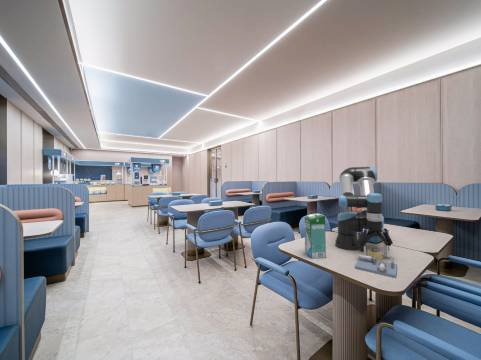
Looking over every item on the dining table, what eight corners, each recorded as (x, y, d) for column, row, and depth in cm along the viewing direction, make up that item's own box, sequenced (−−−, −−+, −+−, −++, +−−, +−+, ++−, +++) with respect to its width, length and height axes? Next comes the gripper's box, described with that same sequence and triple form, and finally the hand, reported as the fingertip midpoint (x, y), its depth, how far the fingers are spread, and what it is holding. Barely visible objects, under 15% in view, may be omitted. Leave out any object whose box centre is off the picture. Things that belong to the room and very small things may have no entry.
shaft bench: (354, 268, 106) (354, 259, 106) (360, 258, 118) (360, 251, 118) (395, 278, 95) (395, 268, 95) (397, 266, 108) (397, 257, 108)
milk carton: (305, 253, 129) (304, 213, 129) (318, 252, 130) (318, 213, 130) (311, 258, 120) (310, 216, 120) (325, 257, 121) (325, 215, 121)
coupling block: (373, 261, 115) (373, 251, 115) (367, 257, 120) (367, 248, 120) (381, 260, 116) (381, 250, 116) (375, 257, 121) (375, 247, 121)
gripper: (358, 222, 112) (358, 260, 112) (400, 220, 115) (400, 258, 115) (349, 219, 120) (350, 255, 120) (389, 218, 123) (389, 253, 122)
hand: (374, 257), depth 117 cm, fingers open, 13 cm apart
